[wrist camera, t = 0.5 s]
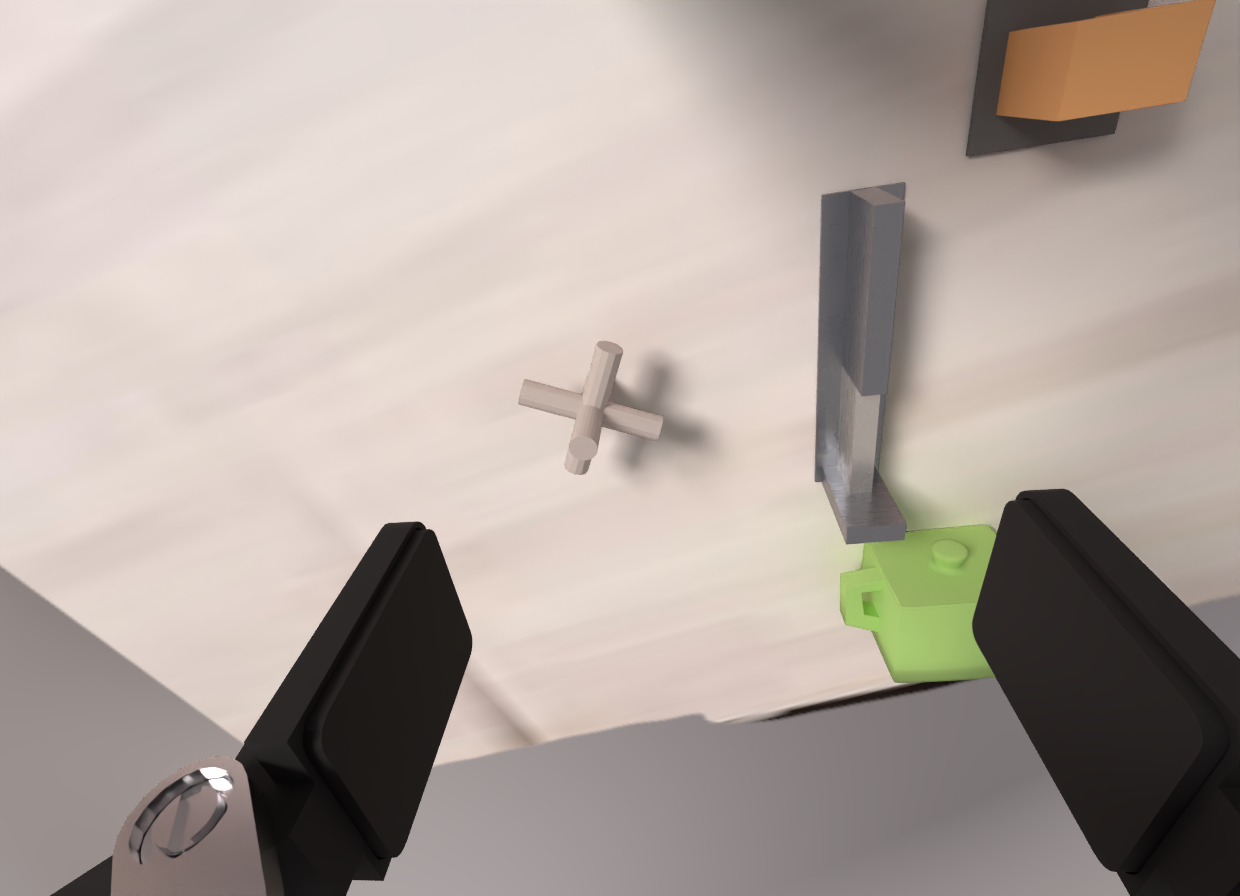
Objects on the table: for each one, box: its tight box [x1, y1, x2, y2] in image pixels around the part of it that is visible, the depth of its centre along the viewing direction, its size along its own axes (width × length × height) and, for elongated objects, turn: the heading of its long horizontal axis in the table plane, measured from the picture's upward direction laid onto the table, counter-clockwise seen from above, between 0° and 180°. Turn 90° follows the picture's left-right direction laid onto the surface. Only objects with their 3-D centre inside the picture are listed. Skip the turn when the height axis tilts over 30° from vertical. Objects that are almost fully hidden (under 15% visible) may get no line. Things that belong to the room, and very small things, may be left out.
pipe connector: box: [518, 341, 663, 475], centre depth 41 cm, size 10×10×10 cm
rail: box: [815, 182, 907, 544], centre depth 39 cm, size 22×5×8 cm, turn 9°
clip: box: [996, 0, 1216, 121], centre depth 30 cm, size 4×6×6 cm
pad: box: [966, 0, 1149, 156], centre depth 33 cm, size 8×8×1 cm
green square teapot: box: [840, 525, 996, 683], centre depth 48 cm, size 18×10×10 cm, turn 100°
